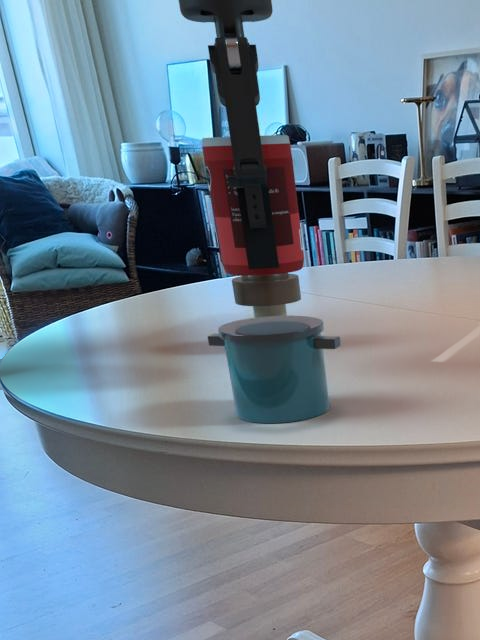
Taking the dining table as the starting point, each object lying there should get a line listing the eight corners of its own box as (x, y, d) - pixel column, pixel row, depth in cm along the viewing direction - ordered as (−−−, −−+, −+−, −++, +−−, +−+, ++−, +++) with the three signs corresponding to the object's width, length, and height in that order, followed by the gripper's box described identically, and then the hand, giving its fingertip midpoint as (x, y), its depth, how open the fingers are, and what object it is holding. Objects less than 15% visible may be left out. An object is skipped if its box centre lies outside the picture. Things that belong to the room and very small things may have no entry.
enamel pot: (324, 427, 71) (313, 336, 67) (198, 421, 74) (181, 333, 70) (363, 399, 78) (355, 316, 75) (246, 395, 81) (233, 314, 77)
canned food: (265, 263, 87) (247, 137, 82) (323, 267, 83) (308, 134, 78) (204, 273, 82) (181, 139, 77) (263, 277, 78) (242, 136, 73)
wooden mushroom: (231, 353, 97) (215, 260, 92) (261, 340, 103) (248, 251, 98) (290, 355, 96) (277, 260, 91) (317, 341, 101) (306, 251, 97)
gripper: (268, -66, 63) (309, 273, 74) (264, -20, 81) (298, 249, 92) (160, -67, 62) (219, 279, 73) (180, -20, 79) (225, 253, 91)
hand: (263, 262), depth 82 cm, fingers closed on canned food, 8 cm apart
